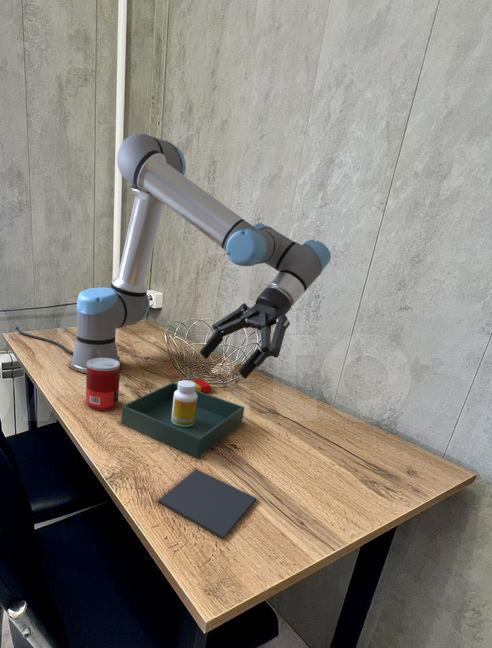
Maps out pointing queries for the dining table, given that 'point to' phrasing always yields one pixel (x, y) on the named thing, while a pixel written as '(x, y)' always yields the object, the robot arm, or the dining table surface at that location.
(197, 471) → the mat
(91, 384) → the canned food
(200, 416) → the dark green tray
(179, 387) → the supplement bottle
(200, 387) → the popsicle
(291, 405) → the dining table surface
